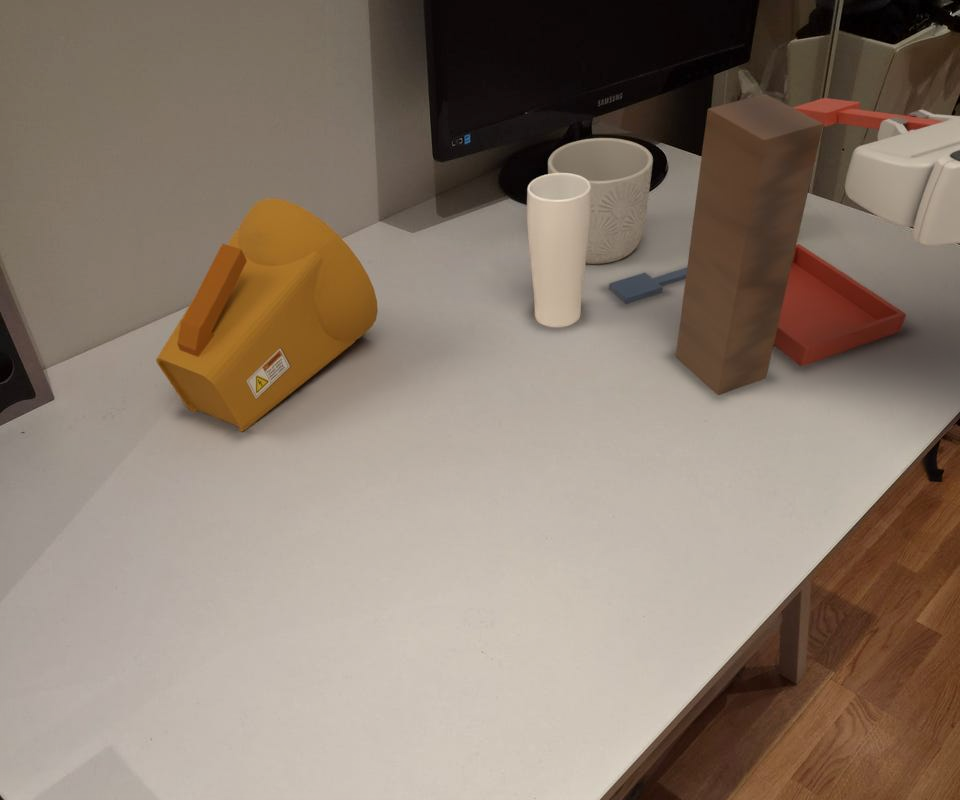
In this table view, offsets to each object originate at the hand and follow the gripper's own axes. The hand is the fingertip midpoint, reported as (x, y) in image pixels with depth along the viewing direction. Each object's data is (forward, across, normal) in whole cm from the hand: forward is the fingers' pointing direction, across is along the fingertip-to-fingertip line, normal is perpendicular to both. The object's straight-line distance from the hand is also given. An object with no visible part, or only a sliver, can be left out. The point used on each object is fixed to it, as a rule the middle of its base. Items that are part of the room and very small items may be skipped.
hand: (897, 124), depth 78 cm
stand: (+2, +14, +22) cm, 26 cm away
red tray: (+7, 0, +22) cm, 23 cm away
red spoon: (+3, 0, +1) cm, 3 cm away
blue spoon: (+20, +7, +22) cm, 30 cm away
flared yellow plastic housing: (+25, +57, +22) cm, 66 cm away
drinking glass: (+20, +24, +22) cm, 38 cm away
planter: (+32, +12, +22) cm, 40 cm away
